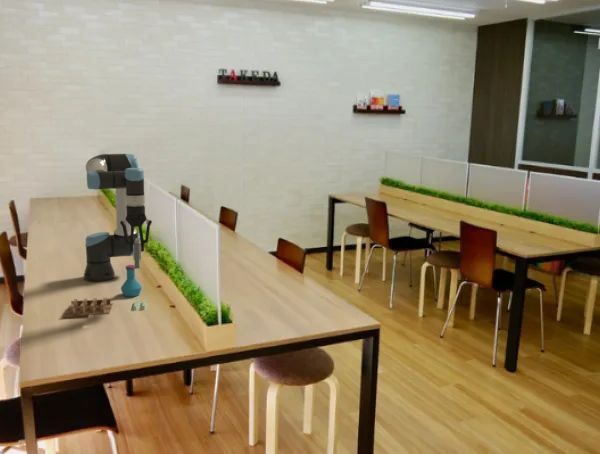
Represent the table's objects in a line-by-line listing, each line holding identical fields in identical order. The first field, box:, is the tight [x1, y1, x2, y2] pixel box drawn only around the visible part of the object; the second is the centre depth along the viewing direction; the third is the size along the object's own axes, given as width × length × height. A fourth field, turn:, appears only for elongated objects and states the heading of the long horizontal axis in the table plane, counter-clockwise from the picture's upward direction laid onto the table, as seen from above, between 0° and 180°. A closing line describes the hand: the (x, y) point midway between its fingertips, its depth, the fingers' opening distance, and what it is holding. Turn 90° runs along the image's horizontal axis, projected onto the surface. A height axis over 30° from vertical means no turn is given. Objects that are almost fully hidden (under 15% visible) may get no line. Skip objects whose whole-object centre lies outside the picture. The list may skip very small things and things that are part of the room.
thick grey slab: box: [134, 238, 142, 270], centre depth 237 cm, size 10×2×11 cm, turn 12°
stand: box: [131, 298, 149, 312], centre depth 241 cm, size 11×6×3 cm, turn 12°
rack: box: [62, 297, 114, 319], centre depth 235 cm, size 13×18×4 cm
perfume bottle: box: [120, 264, 143, 298], centre depth 256 cm, size 9×9×15 cm
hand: (137, 258), depth 237 cm, fingers closed on thick grey slab, 2 cm apart
